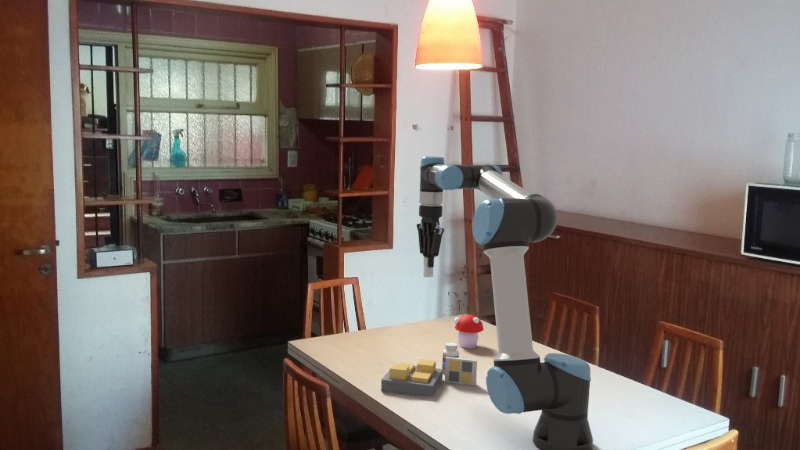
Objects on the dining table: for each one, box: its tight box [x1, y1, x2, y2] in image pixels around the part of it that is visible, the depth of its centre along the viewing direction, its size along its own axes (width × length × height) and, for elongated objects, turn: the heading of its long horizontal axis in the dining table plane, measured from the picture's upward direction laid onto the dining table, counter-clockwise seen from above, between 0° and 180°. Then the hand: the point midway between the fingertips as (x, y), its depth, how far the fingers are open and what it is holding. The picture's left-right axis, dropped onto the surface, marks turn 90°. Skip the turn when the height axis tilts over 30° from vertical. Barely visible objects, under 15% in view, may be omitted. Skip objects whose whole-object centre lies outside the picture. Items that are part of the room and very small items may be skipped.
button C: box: [416, 358, 437, 376], centre depth 228 cm, size 5×5×4 cm
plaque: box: [444, 357, 478, 386], centre depth 229 cm, size 1×10×8 cm, turn 76°
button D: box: [398, 362, 415, 373], centre depth 230 cm, size 5×5×4 cm
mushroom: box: [453, 314, 485, 349], centre depth 269 cm, size 11×11×12 cm
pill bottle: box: [441, 342, 460, 375], centre depth 239 cm, size 5×5×10 cm
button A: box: [412, 372, 431, 383], centre depth 221 cm, size 5×5×4 cm
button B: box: [389, 363, 409, 381], centre depth 223 cm, size 5×5×4 cm
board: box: [380, 365, 444, 398], centre depth 226 cm, size 16×16×4 cm
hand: (428, 276), depth 234 cm, fingers closed
